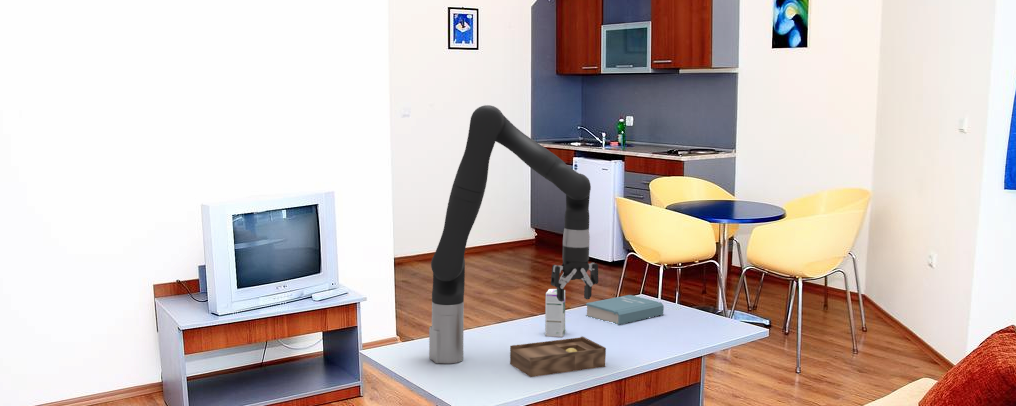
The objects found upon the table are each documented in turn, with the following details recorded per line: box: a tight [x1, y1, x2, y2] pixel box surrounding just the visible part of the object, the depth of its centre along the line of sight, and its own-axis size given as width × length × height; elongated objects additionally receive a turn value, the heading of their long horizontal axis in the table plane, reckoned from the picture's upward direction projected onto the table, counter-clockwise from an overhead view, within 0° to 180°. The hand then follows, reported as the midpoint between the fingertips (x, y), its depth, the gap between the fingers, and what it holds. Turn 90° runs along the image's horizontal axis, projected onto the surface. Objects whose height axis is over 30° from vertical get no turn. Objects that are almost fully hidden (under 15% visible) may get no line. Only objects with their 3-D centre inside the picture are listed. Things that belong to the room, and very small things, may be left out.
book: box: [585, 294, 665, 326], centre depth 315 cm, size 23×16×5 cm
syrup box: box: [544, 288, 566, 338], centre depth 288 cm, size 6×6×14 cm
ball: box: [565, 348, 577, 352], centre depth 258 cm, size 5×5×5 cm
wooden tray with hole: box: [509, 335, 607, 378], centre depth 256 cm, size 24×13×6 cm, turn 115°
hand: (574, 299), depth 256 cm, fingers open, 8 cm apart
